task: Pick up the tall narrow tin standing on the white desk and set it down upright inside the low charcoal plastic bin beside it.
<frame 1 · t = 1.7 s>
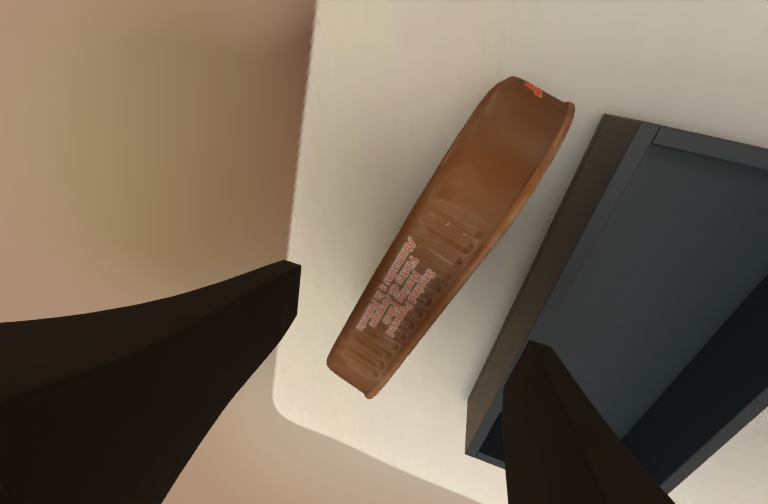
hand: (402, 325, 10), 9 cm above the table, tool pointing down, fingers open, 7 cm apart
bin: (609, 318, 18), on the table
tin: (438, 222, 19), on the table
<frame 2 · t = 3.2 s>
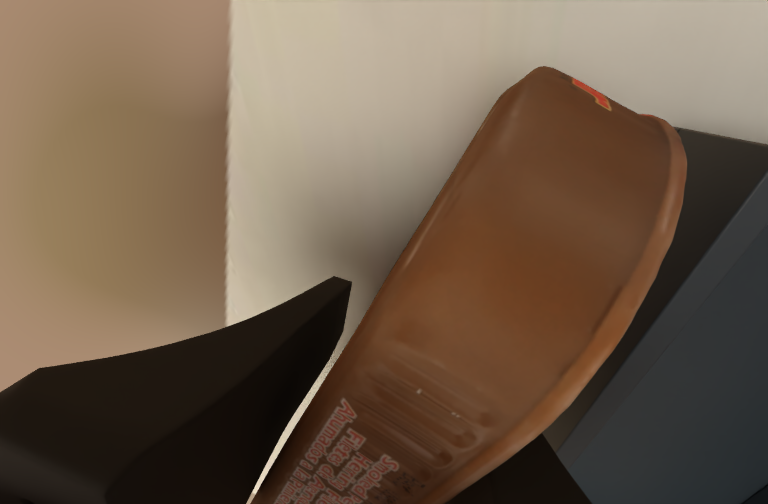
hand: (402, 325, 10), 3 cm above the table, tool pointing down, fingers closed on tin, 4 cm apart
bin: (659, 409, 13), on the table
tin: (419, 273, 13), on the table, touching gripper
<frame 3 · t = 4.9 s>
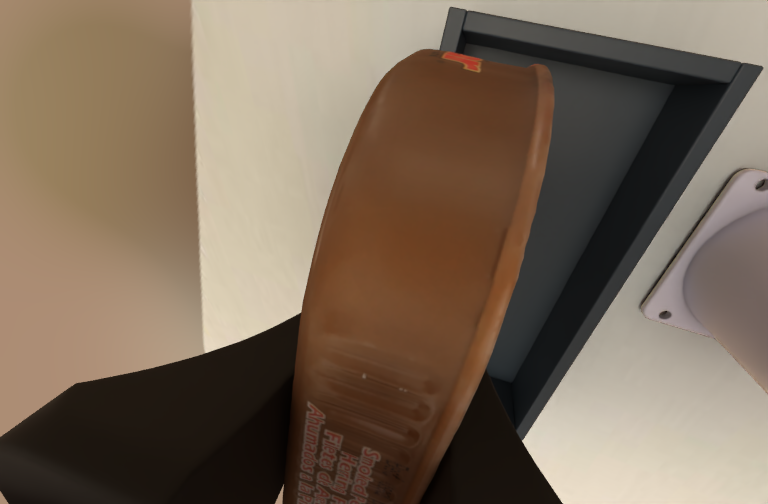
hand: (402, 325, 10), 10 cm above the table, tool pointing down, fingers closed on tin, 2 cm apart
bin: (493, 242, 19), on the table
tin: (407, 272, 14), point 6 cm above the table, touching gripper
when the fingers open (4 cm above the table, at t = 6.7 s): tin stays where it is, resting on bin.
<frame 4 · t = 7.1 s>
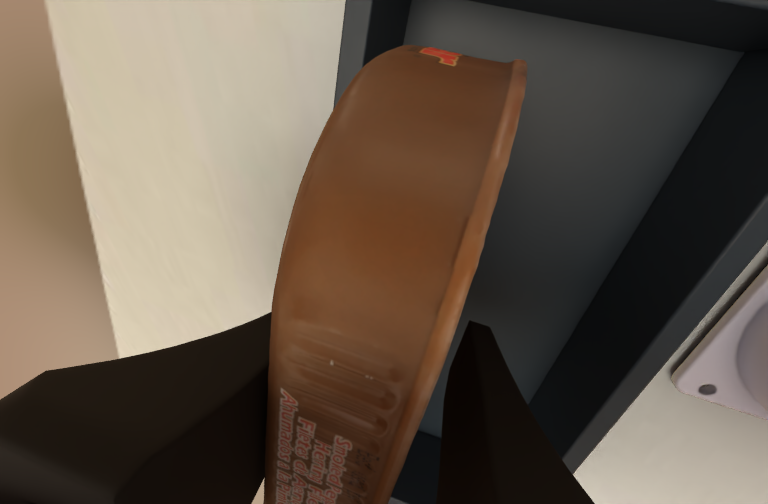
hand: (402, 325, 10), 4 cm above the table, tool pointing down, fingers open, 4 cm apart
bin: (466, 282, 13), on the table
tin: (403, 271, 14), resting on bin, touching gripper
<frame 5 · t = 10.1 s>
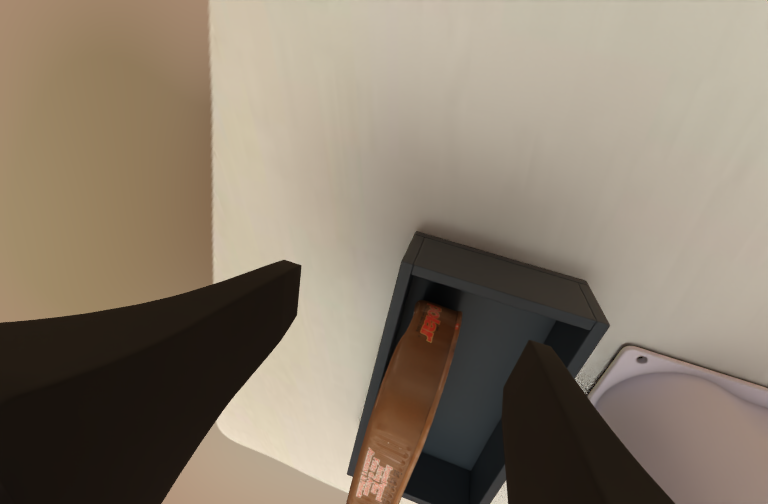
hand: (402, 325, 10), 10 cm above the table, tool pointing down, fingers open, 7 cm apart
bin: (450, 370, 23), on the table
tin: (414, 363, 24), resting on bin
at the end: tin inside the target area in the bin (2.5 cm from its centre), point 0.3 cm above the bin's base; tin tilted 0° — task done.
